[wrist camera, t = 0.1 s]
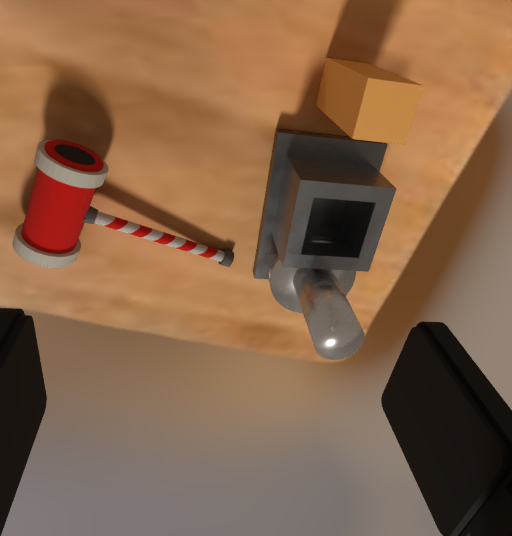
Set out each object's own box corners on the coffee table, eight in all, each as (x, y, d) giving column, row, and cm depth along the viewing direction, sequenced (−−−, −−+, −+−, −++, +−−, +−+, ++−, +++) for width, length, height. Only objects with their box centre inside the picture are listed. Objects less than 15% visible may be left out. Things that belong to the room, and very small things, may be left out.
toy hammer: (252, 215, 50) (259, 242, 44) (211, 290, 55) (213, 321, 50) (49, 130, 42) (28, 150, 36) (23, 227, 47) (2, 256, 42)
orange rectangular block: (325, 57, 41) (368, 77, 31) (368, 63, 42) (423, 85, 32) (315, 105, 43) (352, 138, 33) (356, 110, 44) (404, 144, 34)
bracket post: (276, 128, 44) (311, 186, 31) (382, 140, 46) (458, 199, 33) (250, 284, 55) (269, 378, 41) (338, 288, 57) (382, 378, 43)
